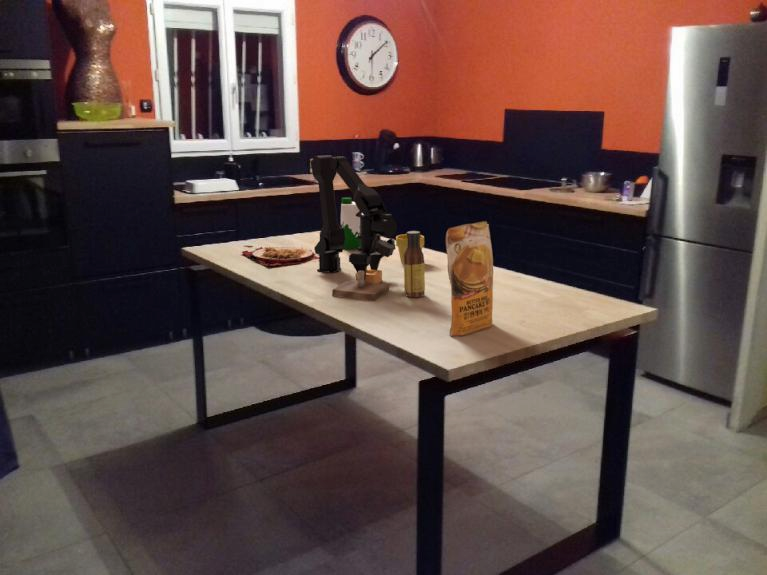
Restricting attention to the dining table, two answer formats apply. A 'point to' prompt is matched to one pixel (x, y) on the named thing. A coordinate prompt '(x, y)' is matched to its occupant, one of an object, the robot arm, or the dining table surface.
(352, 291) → the brown peg board
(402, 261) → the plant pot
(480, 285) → the pancake mix bag
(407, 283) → the sauce bottle
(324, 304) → the dining table surface
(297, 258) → the plate with food
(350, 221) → the milk carton
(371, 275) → the orange square ring
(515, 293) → the dining table surface
